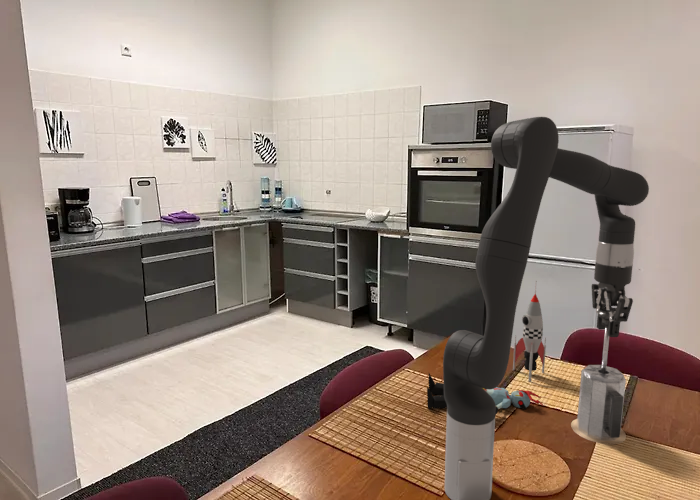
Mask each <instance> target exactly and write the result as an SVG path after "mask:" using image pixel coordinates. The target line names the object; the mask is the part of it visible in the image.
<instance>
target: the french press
mask: <svg viewBox="0 0 700 500" xmlns="http://www.w3.org/2000/svg"><path fill="white" fill-rule="evenodd" d="M601 368H602V364H588V365H587V366H586V367H585V368H583V369H581V372H580V385H579V394H578V395H579V397H578V406H577V418H576V419H577V427H578V430H579V431H580V432H582V433H583V434H585V435H586V436H588V437H591V438H594V439H597V440H602V441H614V440H616V439H617V438H618V437H620V431H621V429H622V421H623V411H624V410H623V409H624V404H625V403H624V401H625V394H626V393H625V392H626V382H627V380H626V378H625V376H624V373H622V372H621V371H620V370H618V368H614V367H610V366H606V374H602V373H601ZM594 379H595V380H594Z"/></svg>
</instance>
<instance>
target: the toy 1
mask: <svg viewBox="0 0 700 500" xmlns="http://www.w3.org/2000/svg"><path fill="white" fill-rule="evenodd" d="M483 389H484V388H483ZM484 390H485V391H486V392H487V393H488V394H489V395H490V396H491V397H492V398H493V400H494V401H495V405H496V415H497V414H498V412H499V410H500V409H507V408H509V407H510V406H511V404H512V405H513V406H514V407H516V408H519V409H523V410H527V408H528V407H529V406H530V404H531V401H532V402H533V403H535V404H536V405H539V404H540V405H541V406H542V407H543V406H544V404H543V403H542V402H541V401H540V400H539V399H541V398H542V397H541V396H539V395H538V394H536V393H535V392H532V391H531V390H524V389H521V390H520V389H519V390H518V389H516V390H514V391H512V392H511V394H510V393H509V390H508V389H506V388H504V387H498V386H497V387H496V388H494V389H491V390H488V389H484ZM426 392H427V393H426V396H427V399H426V401H427V409H431V408H432V407H433V408H432V409H447V403H446V401H445V398H444V382H443V383H442V382H437V381H434V378H433V377H432V375H431V374H430V372H428V385H427V386H426ZM435 394H437V395H435ZM532 396H533V397H537V398H538V399H534V398H533V397H532Z"/></svg>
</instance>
